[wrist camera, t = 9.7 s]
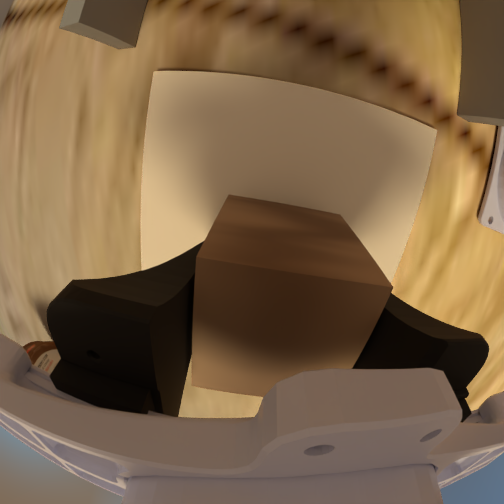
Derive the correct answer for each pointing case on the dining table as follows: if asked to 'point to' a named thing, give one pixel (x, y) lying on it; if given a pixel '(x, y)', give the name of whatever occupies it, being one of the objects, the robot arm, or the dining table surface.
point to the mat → (276, 160)
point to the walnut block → (280, 296)
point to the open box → (473, 46)
